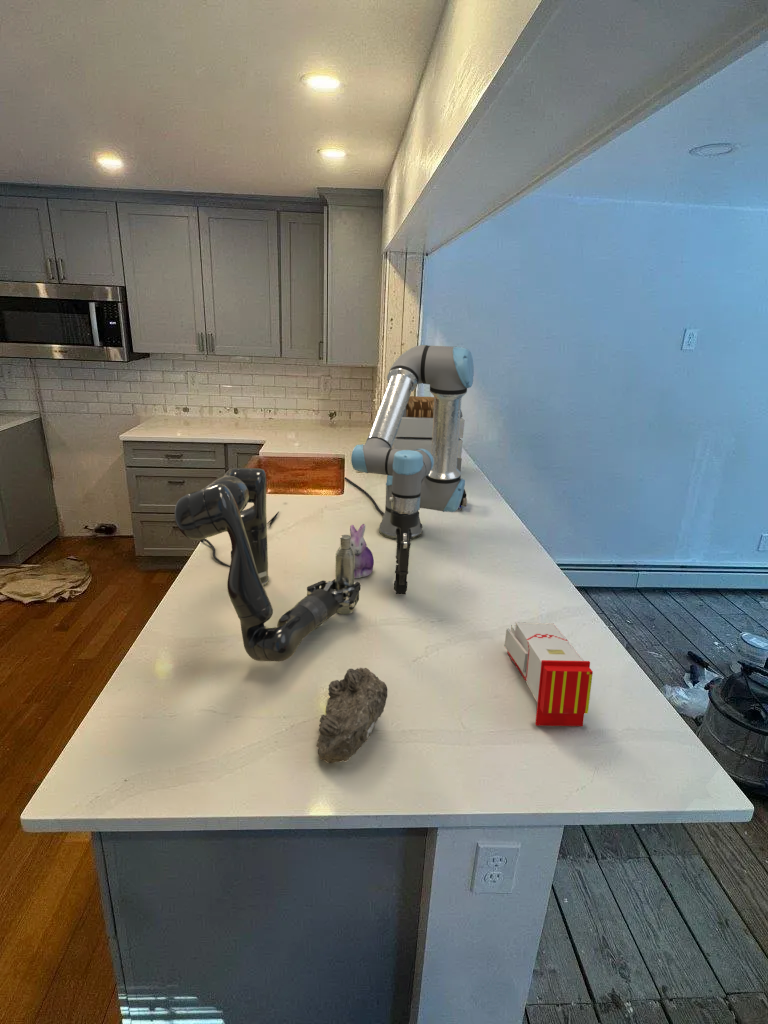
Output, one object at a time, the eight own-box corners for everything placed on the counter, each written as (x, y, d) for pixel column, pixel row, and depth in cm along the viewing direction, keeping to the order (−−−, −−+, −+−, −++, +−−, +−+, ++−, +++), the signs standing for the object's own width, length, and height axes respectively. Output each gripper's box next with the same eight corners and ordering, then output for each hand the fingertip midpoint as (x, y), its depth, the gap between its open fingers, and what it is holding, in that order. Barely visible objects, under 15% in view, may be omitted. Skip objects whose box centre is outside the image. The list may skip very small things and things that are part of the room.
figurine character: (467, 515, 225) (461, 499, 238) (469, 498, 221) (463, 482, 235) (450, 514, 224) (445, 498, 238) (452, 497, 221) (447, 482, 234)
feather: (286, 506, 225) (288, 502, 225) (268, 529, 199) (271, 525, 198) (282, 503, 225) (284, 499, 225) (264, 526, 199) (267, 522, 198)
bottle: (344, 603, 152) (346, 531, 145) (356, 610, 148) (359, 536, 141) (331, 609, 148) (331, 536, 141) (343, 616, 145) (344, 541, 138)
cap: (395, 593, 154) (395, 585, 153) (391, 586, 157) (392, 579, 157) (408, 592, 155) (409, 584, 154) (405, 585, 158) (405, 578, 158)
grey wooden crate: (382, 463, 289) (386, 382, 275) (445, 464, 293) (451, 384, 279) (390, 482, 257) (394, 392, 243) (460, 483, 261) (468, 394, 247)
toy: (550, 607, 134) (601, 667, 105) (545, 659, 137) (594, 732, 108) (499, 606, 134) (537, 666, 104) (495, 659, 137) (530, 731, 107)
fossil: (321, 669, 117) (379, 637, 112) (350, 699, 119) (408, 669, 114) (296, 756, 97) (365, 723, 92) (332, 790, 100) (400, 759, 95)
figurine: (352, 582, 163) (353, 533, 158) (338, 567, 172) (338, 521, 166) (381, 576, 167) (383, 529, 162) (366, 562, 176) (367, 517, 171)
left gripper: (339, 604, 130) (374, 576, 144) (288, 589, 136) (326, 563, 150) (339, 632, 132) (373, 602, 147) (288, 616, 138) (326, 588, 153)
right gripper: (389, 499, 156) (385, 576, 164) (392, 520, 140) (388, 604, 148) (416, 500, 156) (411, 576, 164) (422, 521, 141) (416, 605, 149)
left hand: (349, 582), depth 148 cm, fingers closed on bottle, 5 cm apart
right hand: (400, 589), depth 156 cm, fingers closed on cap, 4 cm apart
